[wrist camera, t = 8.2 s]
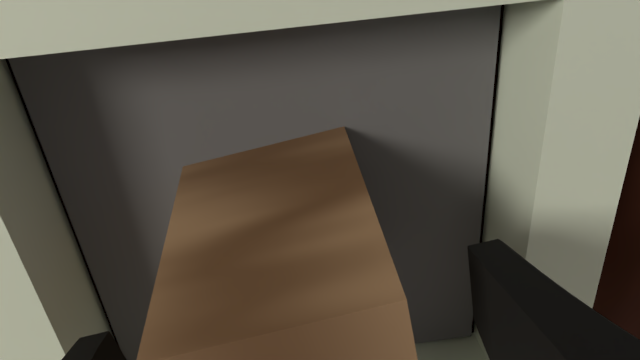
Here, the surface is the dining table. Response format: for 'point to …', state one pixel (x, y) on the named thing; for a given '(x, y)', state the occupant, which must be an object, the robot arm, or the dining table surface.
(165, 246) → the walnut block
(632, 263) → the dining table surface
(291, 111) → the board
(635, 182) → the dining table surface
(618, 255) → the dining table surface
